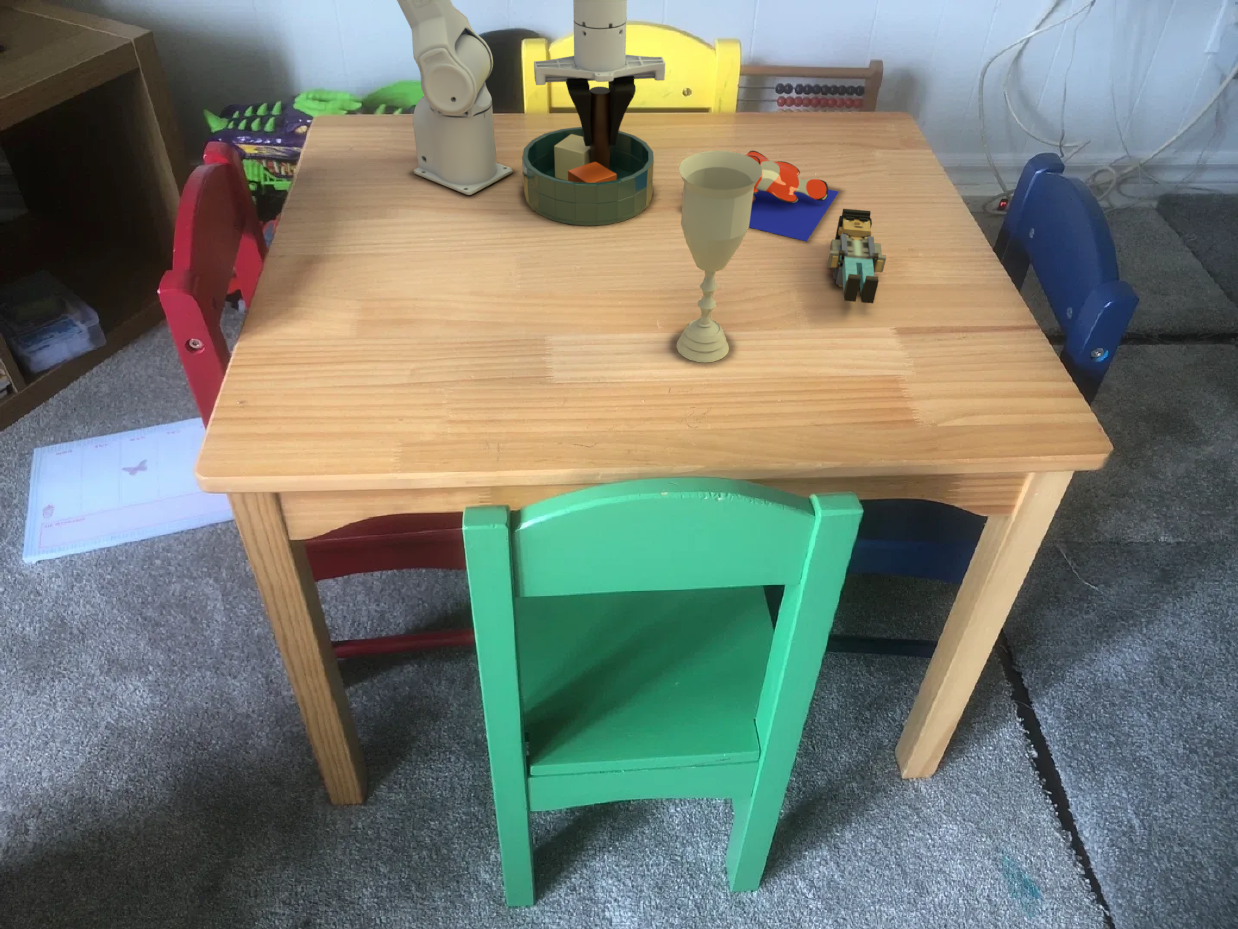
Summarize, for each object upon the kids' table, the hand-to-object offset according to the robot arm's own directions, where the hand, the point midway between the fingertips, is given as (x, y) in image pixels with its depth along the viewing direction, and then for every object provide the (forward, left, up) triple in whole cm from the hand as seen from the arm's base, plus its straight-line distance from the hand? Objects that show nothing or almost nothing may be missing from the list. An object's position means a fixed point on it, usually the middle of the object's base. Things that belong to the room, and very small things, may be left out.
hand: (599, 142), depth 108 cm
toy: (+34, 0, -6) cm, 34 cm away
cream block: (-3, 0, -5) cm, 6 cm away
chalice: (+28, -20, -6) cm, 35 cm away
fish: (+18, +9, -6) cm, 21 cm away
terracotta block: (+3, -5, -5) cm, 8 cm away
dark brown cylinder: (0, 0, -3) cm, 3 cm away
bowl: (0, -3, -5) cm, 6 cm away
